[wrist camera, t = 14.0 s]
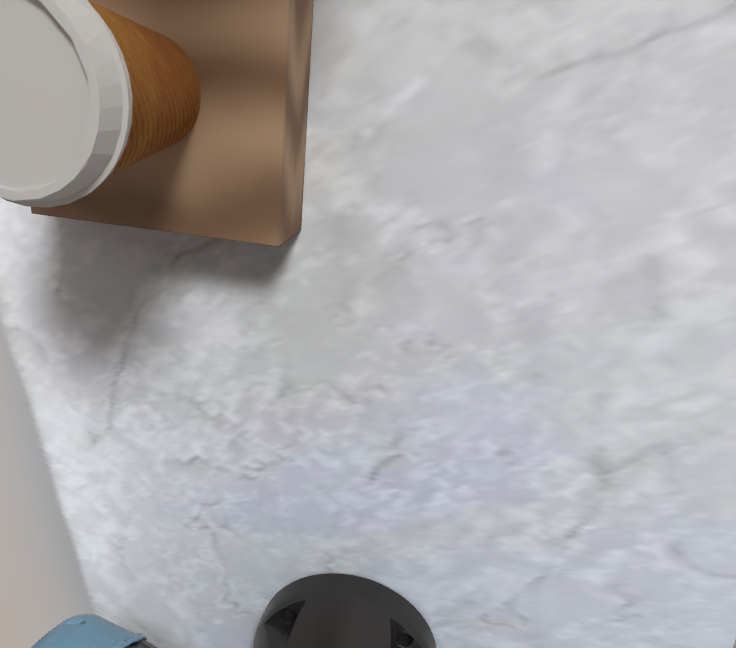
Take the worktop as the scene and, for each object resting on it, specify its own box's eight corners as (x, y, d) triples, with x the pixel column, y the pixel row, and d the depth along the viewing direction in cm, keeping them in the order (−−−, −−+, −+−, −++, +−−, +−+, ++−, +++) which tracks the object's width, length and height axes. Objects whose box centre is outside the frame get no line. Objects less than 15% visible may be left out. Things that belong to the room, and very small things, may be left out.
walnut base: (301, 229, 42) (278, 246, 38) (78, 200, 44) (31, 213, 40) (315, -44, 37) (291, -64, 32) (60, -63, 39) (2, -84, 34)
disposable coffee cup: (152, 209, 38) (16, 257, 27) (39, 80, 37) (-154, 74, 26) (263, 102, 35) (160, 106, 24) (144, -45, 34) (-25, -113, 22)
